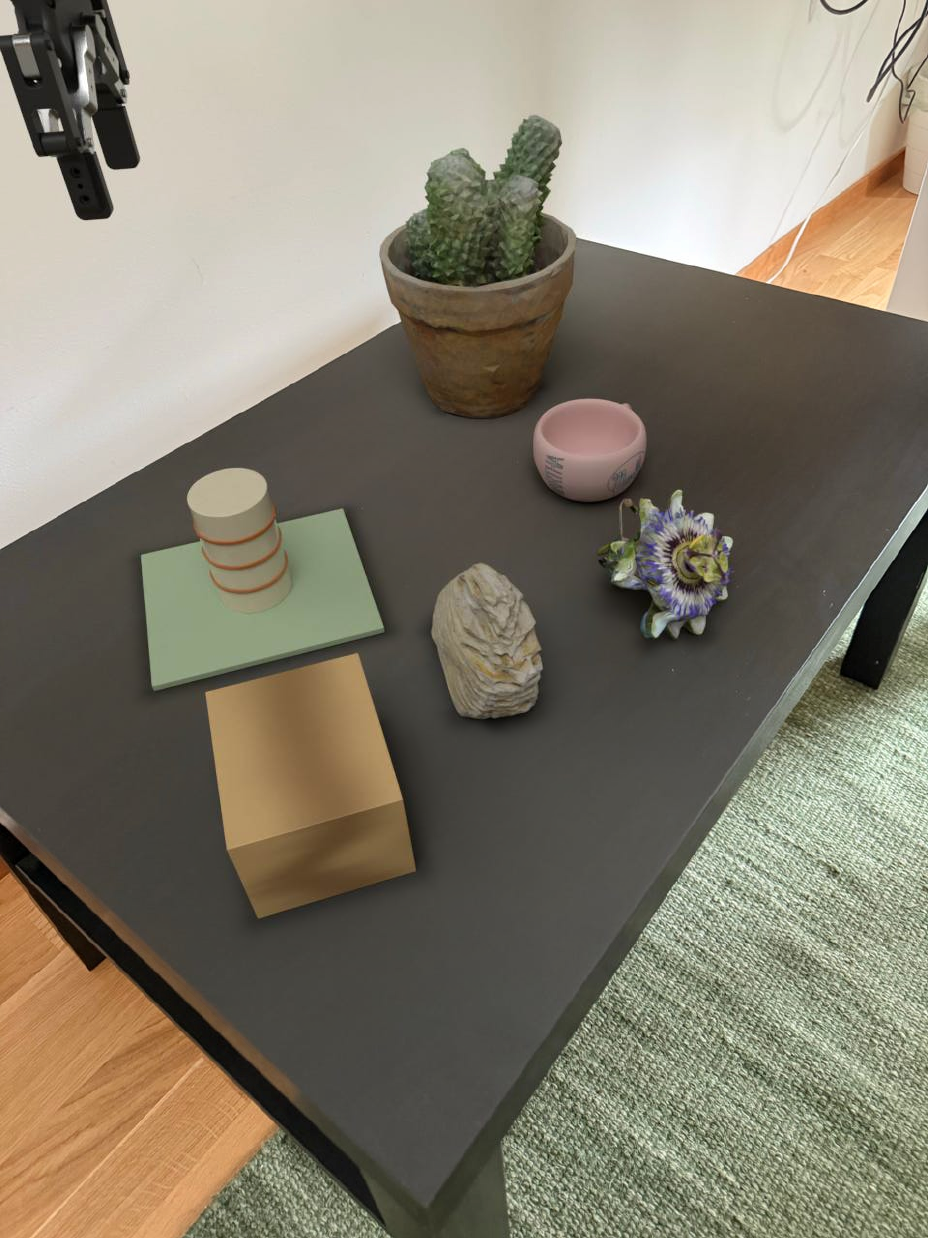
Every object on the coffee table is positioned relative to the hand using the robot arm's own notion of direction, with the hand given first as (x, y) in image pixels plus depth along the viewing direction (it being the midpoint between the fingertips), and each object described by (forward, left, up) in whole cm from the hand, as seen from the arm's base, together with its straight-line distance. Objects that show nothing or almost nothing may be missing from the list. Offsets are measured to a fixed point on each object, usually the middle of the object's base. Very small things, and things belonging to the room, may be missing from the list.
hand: (111, 191), depth 61 cm
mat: (+2, -8, -30) cm, 31 cm away
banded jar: (+2, -8, -30) cm, 31 cm away
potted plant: (+29, +15, -30) cm, 45 cm away
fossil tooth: (+17, -23, -30) cm, 42 cm away
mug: (+34, -3, -30) cm, 46 cm away
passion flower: (+32, -20, -30) cm, 49 cm away
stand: (+3, -31, -30) cm, 43 cm away
